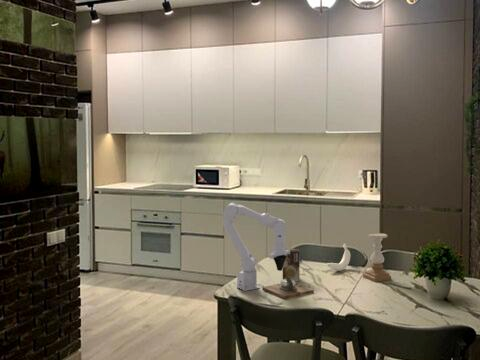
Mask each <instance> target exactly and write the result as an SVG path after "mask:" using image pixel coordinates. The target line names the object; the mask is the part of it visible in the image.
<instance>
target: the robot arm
mask: <svg viewBox="0 0 480 360" xmlns="http://www.w3.org/2000/svg"><path fill="white" fill-rule="evenodd" d="M222 216H223V217H222V226H223V228H224V230H225V232H226V233H227V235H228V236H229V238H230V239H229V240H230V241H231V242H232V245H233V246H234V248H235V250H236V252H237V253H238V255H239V258H240V261H241V263H242V264H241V265H242V269H241V271H240V272H238V273H237V275H236V279H237V281H236V282H237V283H236V288H237V287H238V288H237V289H239V288H240V289H239V290H241V289H242V291H243V292H244V291H245V292H246V291H252V290H257V289H260V288H261V286H259V285H257V283H258V282H257V281H258V280H257V279H258V277H257V268H256V264H257V258H256V257H255V256H253V255H252V253H251V252H250V251H249V250H248V248H247V246H246V244H245V243H244V241H243V239H242V236H241V235H240V233H239V231H238V230H237V228H236V226H235V224H234V222H235V219H236V218H235V217H236V216H238V217H239V216H247V217H250V218H252V219H255V220H257V221H259V224H261V225H263V226H265V227H268V228H270V229H273V230H274V234H273V251H272V253H269V254H268V258H269V259H272V260H273V261H274V263H275V266H276V270H277V271H279V272H280V271H281V272H282V271H283V265H284V262H285V260H286V258H287V256H284V255H287V254H290V250H285V249H286V241H287V240H286V228H287V227H286V225H287V224H286V221H285V220H284V219H282V218H279V217H278V216H276V217H275V216H273V215H270V213H269V212H266V213H265V212H263V213H259V212H257V211H255V210H253V209H251V208H248V207H247V206H244V205H242V204H238V203H236V202H230V203H229V204H228V205H226V207H225V208H224V210H223V212H222Z"/></svg>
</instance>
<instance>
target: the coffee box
mask: <svg viewBox="0 0 480 360" xmlns="http://www.w3.org/2000/svg"><path fill="white" fill-rule="evenodd" d="M285 250H290V254H287V255H284V256H287V258H286V260H285V262H284V265H283V268H282V280H283V279H286V278H290V279H292V280H295V282H298V281H299V282H300V248H285Z"/></svg>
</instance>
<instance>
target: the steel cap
mask: <svg viewBox="0 0 480 360" xmlns="http://www.w3.org/2000/svg"><path fill="white" fill-rule="evenodd" d="M280 283H281V287H283V288H288V289H289V290H293V288H294V287H295V283H296V281H295V280H292V279H290V278H286V279H283V278H282V279H281V280H280Z"/></svg>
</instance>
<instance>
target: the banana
mask: <svg viewBox="0 0 480 360" xmlns="http://www.w3.org/2000/svg"><path fill="white" fill-rule="evenodd" d="M342 248H343V249H344V253H343V255H342V258H341V261H340V262H339V263H336V262H335V263H334V262H327V263H326V266H327V268H329V269H331V270H333V271H337V272H342V271H345V270H346V269H347V267H348V266H349V263H350V260H351V252H350V250H349V249H348V247H347V244H346V243H345V242H343V245H342Z"/></svg>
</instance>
